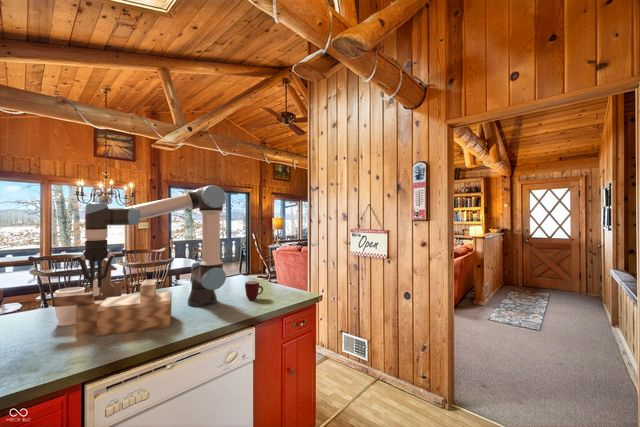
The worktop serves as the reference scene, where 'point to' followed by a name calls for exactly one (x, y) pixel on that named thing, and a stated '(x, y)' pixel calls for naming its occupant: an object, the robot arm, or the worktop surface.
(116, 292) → the wooden toy
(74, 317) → the jar
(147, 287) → the lid
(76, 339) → the worktop surface
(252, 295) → the mug
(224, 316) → the worktop surface
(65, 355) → the worktop surface
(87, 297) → the wooden block
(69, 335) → the worktop surface
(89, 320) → the toolbox
